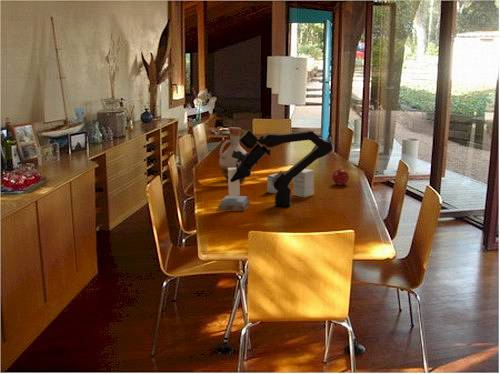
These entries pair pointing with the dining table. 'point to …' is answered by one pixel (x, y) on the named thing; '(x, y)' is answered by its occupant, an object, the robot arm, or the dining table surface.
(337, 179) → the christmas ornament
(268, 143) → the robot arm
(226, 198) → the slate top slab
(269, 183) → the medicine box
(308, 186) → the supplement box
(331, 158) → the dining table surface
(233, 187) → the ivory pillar block
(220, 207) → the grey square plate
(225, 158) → the jug
